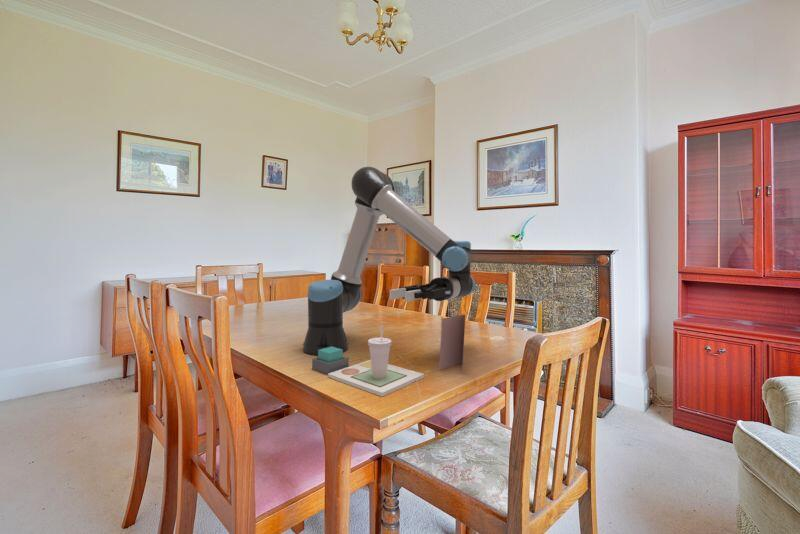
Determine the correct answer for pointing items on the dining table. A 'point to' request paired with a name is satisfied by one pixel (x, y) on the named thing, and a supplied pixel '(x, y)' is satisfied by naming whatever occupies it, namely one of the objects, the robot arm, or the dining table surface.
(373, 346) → the smoothie
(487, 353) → the dining table surface
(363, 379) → the picture board
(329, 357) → the button
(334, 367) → the button housing
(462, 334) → the greeting card
